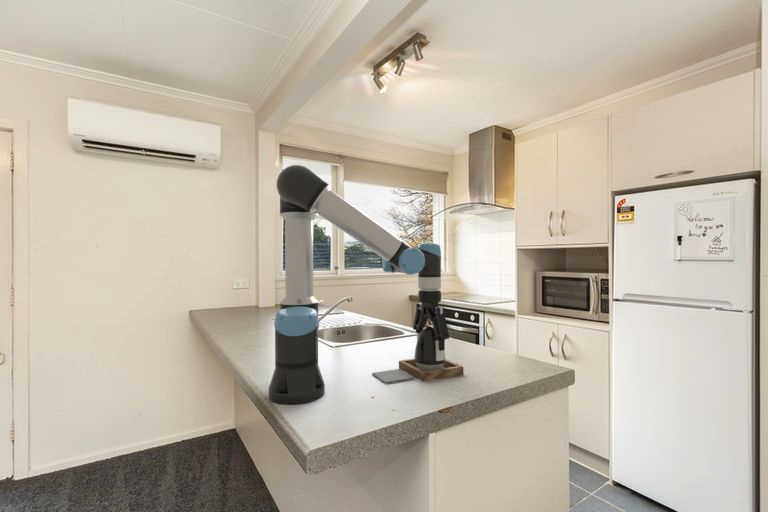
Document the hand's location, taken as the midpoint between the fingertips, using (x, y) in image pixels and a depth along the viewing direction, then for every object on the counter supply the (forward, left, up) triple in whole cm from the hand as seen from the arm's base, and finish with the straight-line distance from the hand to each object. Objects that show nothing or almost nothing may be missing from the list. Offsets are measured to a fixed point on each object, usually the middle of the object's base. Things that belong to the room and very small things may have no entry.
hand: (430, 355), depth 123 cm
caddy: (0, 0, -5) cm, 5 cm away
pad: (-14, 0, -5) cm, 15 cm away
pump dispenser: (0, 0, -5) cm, 5 cm away
